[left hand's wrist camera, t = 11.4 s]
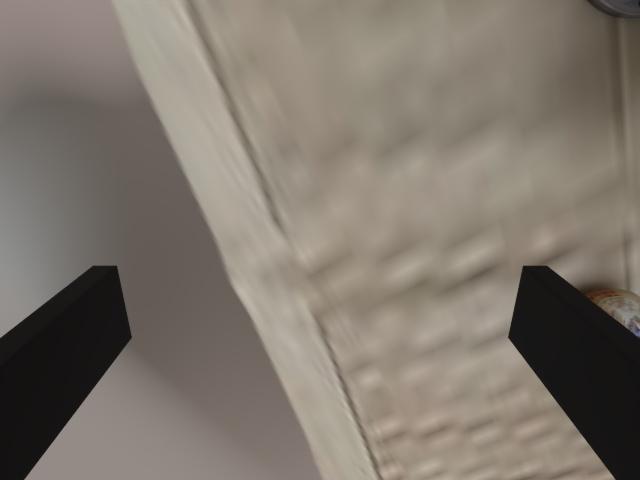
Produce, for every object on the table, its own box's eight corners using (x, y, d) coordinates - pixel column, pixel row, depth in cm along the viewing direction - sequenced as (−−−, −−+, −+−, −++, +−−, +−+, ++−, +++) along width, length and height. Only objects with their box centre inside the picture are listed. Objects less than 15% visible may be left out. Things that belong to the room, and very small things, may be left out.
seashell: (618, 269, 49) (671, 301, 42) (625, 305, 51) (677, 342, 44) (543, 297, 51) (581, 333, 43) (553, 331, 52) (591, 371, 45)
